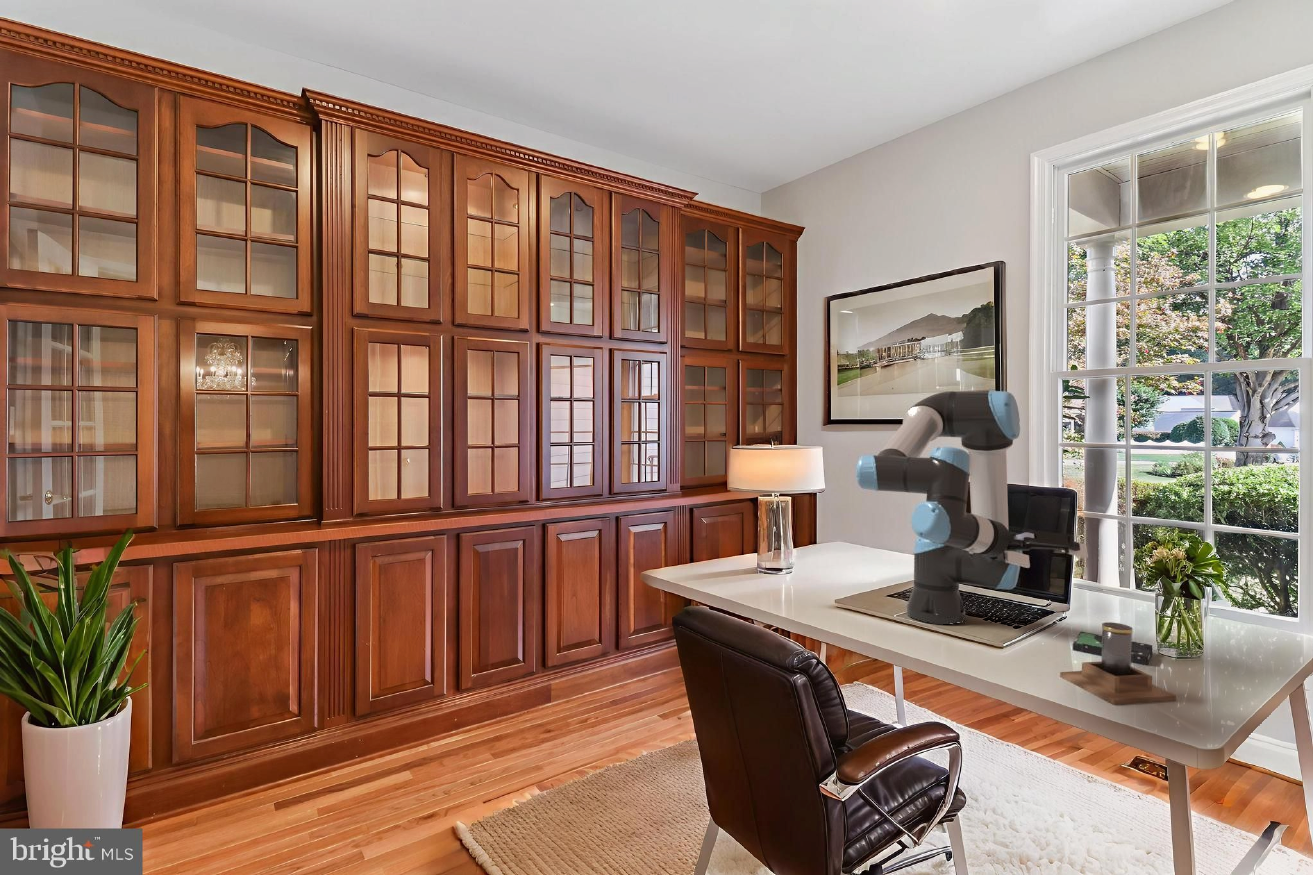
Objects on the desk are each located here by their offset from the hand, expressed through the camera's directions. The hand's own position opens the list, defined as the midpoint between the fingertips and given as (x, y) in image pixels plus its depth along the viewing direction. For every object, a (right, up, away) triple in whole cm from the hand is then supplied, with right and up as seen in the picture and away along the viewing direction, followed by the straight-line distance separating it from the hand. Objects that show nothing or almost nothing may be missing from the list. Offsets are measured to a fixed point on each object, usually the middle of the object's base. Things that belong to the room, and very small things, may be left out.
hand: (1055, 556), depth 143 cm
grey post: (+10, -25, -5) cm, 28 cm away
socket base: (+10, -26, -5) cm, 29 cm away
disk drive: (+23, -26, +16) cm, 39 cm away
